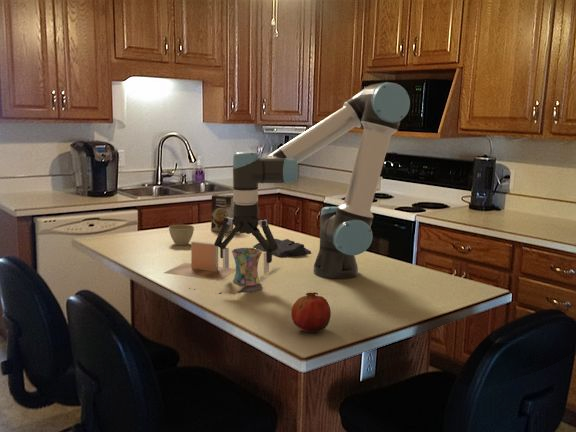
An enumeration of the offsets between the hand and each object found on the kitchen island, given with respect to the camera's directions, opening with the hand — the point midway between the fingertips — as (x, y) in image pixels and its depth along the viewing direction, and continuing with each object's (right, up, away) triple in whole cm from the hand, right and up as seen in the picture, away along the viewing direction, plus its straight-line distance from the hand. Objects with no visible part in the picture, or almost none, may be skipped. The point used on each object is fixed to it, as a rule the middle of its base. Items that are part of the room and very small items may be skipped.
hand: (245, 270), depth 184 cm
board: (-16, -3, +12) cm, 20 cm away
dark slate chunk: (+11, +3, +50) cm, 51 cm away
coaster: (-1, -5, +1) cm, 5 cm away
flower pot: (-30, +5, +56) cm, 63 cm away
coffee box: (-17, +10, +84) cm, 87 cm away
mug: (0, -5, +1) cm, 5 cm away
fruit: (+19, -12, -34) cm, 41 cm away
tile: (-15, -1, +14) cm, 21 cm away
